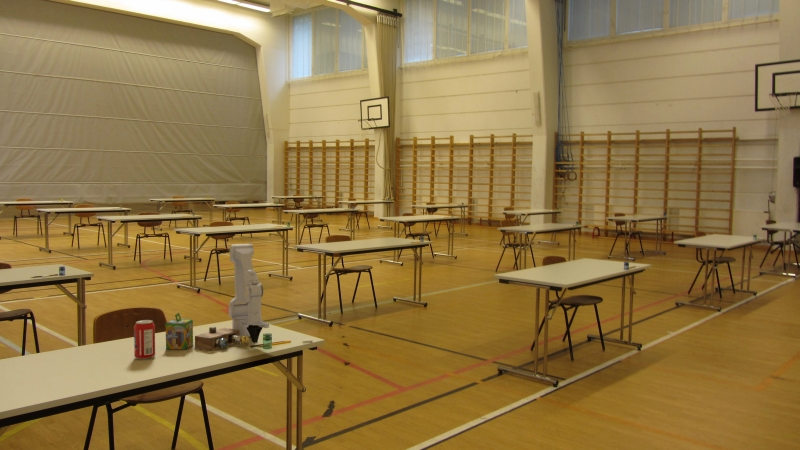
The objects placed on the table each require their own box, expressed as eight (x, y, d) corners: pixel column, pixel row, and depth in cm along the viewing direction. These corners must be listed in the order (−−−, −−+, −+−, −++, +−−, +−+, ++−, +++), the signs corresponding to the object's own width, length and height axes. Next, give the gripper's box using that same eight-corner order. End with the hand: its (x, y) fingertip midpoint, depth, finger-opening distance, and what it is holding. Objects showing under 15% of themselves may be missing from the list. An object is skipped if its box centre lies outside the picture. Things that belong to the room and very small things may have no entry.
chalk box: (186, 350, 261) (186, 315, 261) (165, 349, 262) (164, 315, 261) (194, 344, 271) (193, 311, 270) (173, 344, 271) (173, 311, 270)
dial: (212, 331, 274) (212, 326, 273) (217, 331, 272) (217, 327, 272) (207, 332, 271) (207, 327, 271) (212, 333, 269) (212, 328, 269)
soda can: (147, 360, 244) (147, 324, 243) (130, 359, 246) (129, 322, 245) (159, 355, 252) (158, 319, 251) (142, 354, 253) (141, 318, 253)
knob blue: (209, 343, 270) (209, 334, 270) (227, 346, 265) (227, 337, 265) (202, 345, 267) (202, 336, 266) (221, 348, 261) (221, 339, 261)
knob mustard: (230, 340, 275) (230, 332, 274) (249, 343, 269) (249, 335, 269) (224, 342, 271) (224, 334, 271) (243, 345, 266) (243, 337, 266)
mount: (224, 339, 280) (224, 327, 280) (239, 341, 276) (239, 330, 276) (194, 348, 265) (194, 335, 264) (210, 350, 260) (210, 338, 260)
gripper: (235, 311, 265) (235, 342, 265) (261, 315, 258) (261, 346, 259) (246, 308, 271) (246, 339, 272) (272, 312, 264) (272, 343, 265)
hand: (254, 342), depth 265 cm, fingers closed
